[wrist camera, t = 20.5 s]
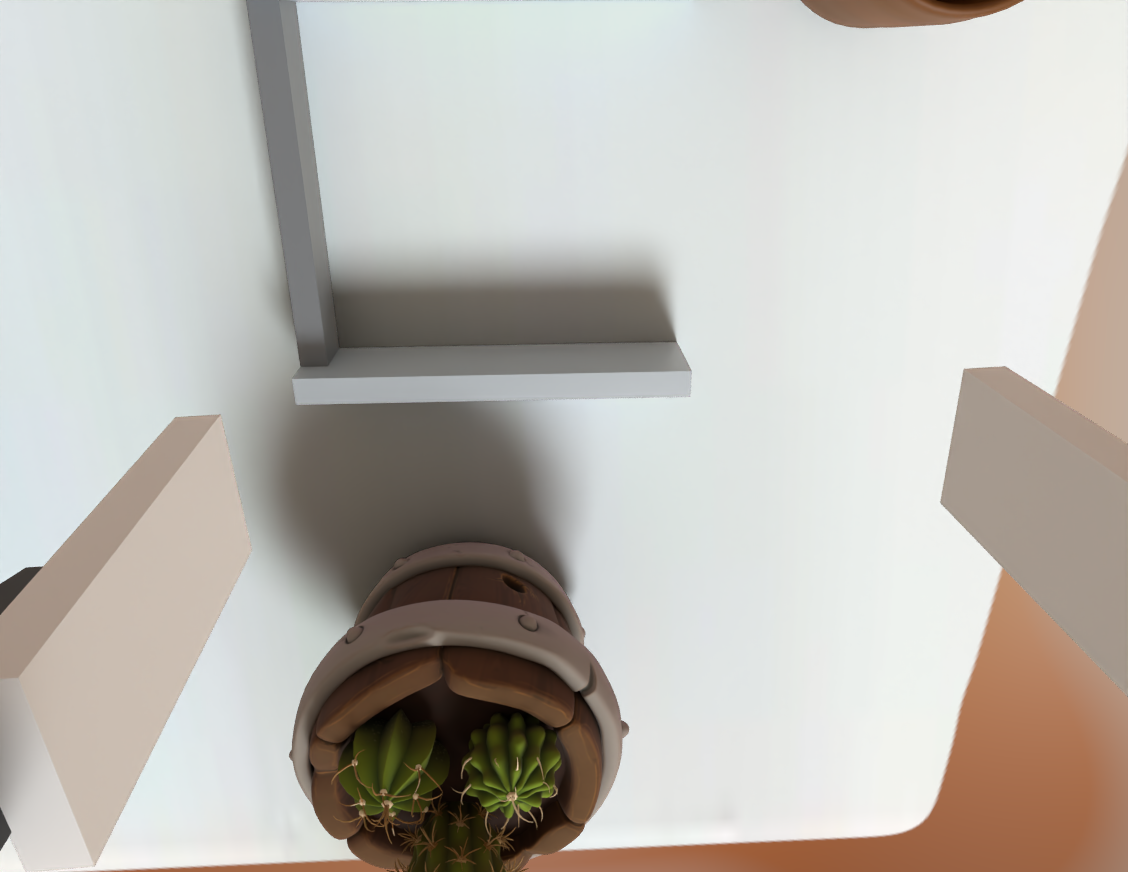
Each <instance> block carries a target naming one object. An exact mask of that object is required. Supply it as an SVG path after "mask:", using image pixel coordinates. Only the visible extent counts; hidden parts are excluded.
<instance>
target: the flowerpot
mask: <svg viewBox="0 0 1128 872" xmlns="http://www.w3.org/2000/svg"><path fill="white" fill-rule="evenodd" d="M584 637H585V630H584V629H583V628H582V626H581V623H580V620H579V618H578V616H577V613H576V611H575V609H574V607H573V606H572V604H571V602H570V600H569V598H568V596H567V595H566V593H565V591H564V590H563V588H562V587H561V586H560V584H559V583H558V582H557V581H556V579H555V578H554V577H553V576H552V575H551V574H550V573H549V572H548V571H547V570H546V569H545V568H543V567H542V566H541V565H540V564H538V563H537V562H536V561H534V560H533V559H531V558H530V557H528V556H526V555H524V554H522V552H520V551H518V550H515V551H514V550H512V549H509V548H506V547H503V546H499V545H494V544H488V543H481V542H465V543H451V544H445V545H439V546H435V547H431V548H428V549H424V550H422V551H419V552H417V553H415V554H413V555H411V556H409V557H407V558H406V559H405V558H400V559H398V560H397V561H396V562H395V564H394V567H392V568H391V569H390V570H389V571H388V572H387V573H386V574H385V575H384V576H383V578H382V579H381V580H380V581H379V582H378V584H377V585H376V586H375V588H374V589H373V590H372V592H371V593H370V594H369V596H368V597H367V599H366V600H365V602H364V604H363V606H362V607H361V609H360V612H359V614H358V616H357V619H356V622H355V625H354V627H352V628H350V629H349V630H348V631H347V633H346V634H345V635H344V636H343V637H342V638H341V639H340V640H339V641H338V642H337V643H336V644H335V645H334V646H333V647H332V648H331V650H330V651H329V652H328V653H327V655H326V656H325V657H324V658H323V660H322V661H321V662H320V664H319V665H318V667H317V668H316V670H315V671H314V673H313V675H312V676H311V678H310V680H309V682H308V684H307V686H306V688H305V690H304V693H303V695H302V698H301V700H300V704H299V708H298V711H297V715H296V720H295V725H294V731H293V739H292V750H291V751H290V754H289V757H290V759H291V760H292V761H293V766H294V770H295V773H296V777H297V779H298V782H299V784H300V786H301V788H302V790H303V792H304V793H305V795H306V796H307V798H308V799H309V801H310V802H311V803H312V805H313V807H314V810H315V813H316V815H317V817H318V819H319V821H320V823H321V824H322V826H323V827H324V828H325V830H326V831H327V832H328V833H329V834H330V835H331V836H333V837H334V838H336V839H339V840H342V839H346V838H347V844H348V847H349V849H350V850H351V852H352V853H353V854H354V855H355V856H357V857H358V858H360V859H361V860H363V861H365V862H367V863H369V864H371V865H374V866H376V867H380V868H384V869H396V871H397V872H399V870H398V869H402V871H403V872H518V871H519V872H522V871H525V870H527V869H524V870H522V871H520V870H521V869H522V868H523V867H524V866H525V865H526V863H527V862H528V861H529V859H532V858H534V857H537V856H540V855H548V854H552V853H555V852H557V851H559V850H561V849H562V848H564V847H565V846H567V845H568V844H569V843H571V842H572V841H573V840H575V839H576V838H577V837H578V836H579V835H580V834H581V832H582V831H583V829H584V827H585V824H586V823H587V822H588V821H589V820H590V819H591V818H592V817H593V816H594V814H595V813H596V812H597V811H598V809H599V808H600V807H601V805H602V804H603V802H604V800H605V799H606V797H607V795H608V793H609V791H610V789H611V787H612V785H613V783H614V780H615V778H616V775H617V772H618V769H619V765H620V760H621V754H622V738H624V737H625V736H626V735H627V734H628V732H629V726H628V725H627V723H625V722H624V721H622V720H621V716H620V710H619V706H618V702H617V699H616V696H615V694H614V691H613V689H612V687H611V685H610V682H609V680H608V679H607V677H606V675H605V673H604V671H603V669H602V668H601V666H600V664H599V663H598V661H597V660H596V658H595V657H594V656H593V654H592V653H591V652H590V651H589V650H588V649H587V648H586V647H585V646H584ZM404 870H405V871H404ZM387 871H389V870H387ZM389 872H394V871H389Z"/></svg>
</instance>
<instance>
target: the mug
mask: <svg viewBox="0 0 1128 872" xmlns="http://www.w3.org/2000/svg"><path fill="white" fill-rule="evenodd" d="M801 1H802V2H803V3H804V4H805V5H806V6H807V7H808V8H809V9H811V10H812V11H813V12H814V13H816V14H817V15H819V16H821V17H822V18H824V19H826V20H828V21H831V22H833V23H835V24H839V25H843V26H847V27H856V28H877V27H908V26H926V25H943V24H951V23H956V22H961V21H966V20H970V19H973V18H977V17H982V16H987V15H990V14H993V13H996V12H999V11H1002V10H1005V9H1008V8H1010V7H1012V6H1014V5H1016V4H1018V3H1020V2H1022V1H1023V0H801Z"/></svg>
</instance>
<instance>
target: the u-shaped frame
mask: <svg viewBox="0 0 1128 872" xmlns="http://www.w3.org/2000/svg"><path fill="white" fill-rule="evenodd" d="M324 1H521V0H246V2H247V9H248V16H249V23H250V29H251V36H252V43H253V50H254V56H255V63H256V70H257V77H258V83H259V90H260V97H261V103H262V110H263V117H264V124H265V130H266V137H267V144H268V151H269V157H270V164H271V171H272V178H273V184H274V191H275V198H276V204H277V211H278V218H279V225H280V231H281V238H282V245H283V252H284V258H285V265H286V272H287V279H288V285H289V292H290V299H291V305H292V312H293V319H294V326H295V332H296V339H297V346H298V353H299V359H300V366H301V367H300V368H299V370H298V371H297V373H296V374H295V375H294V377H293V378H292V383H293V389H294V396H295V402H296V405H314V404H362V403H410V402H458V401H506V400H554V399H602V398H650V397H690V391H691V375H692V371H691V369H690V367H689V365H688V363H687V361H686V359H685V357H684V355H683V353H682V351H681V349H680V347H679V345H678V343H677V342H634V343H580V344H527V345H473V346H419V347H366V348H339V341H338V333H337V325H336V317H335V309H334V301H333V293H332V285H331V277H330V270H329V262H328V254H327V246H326V238H325V230H324V222H323V214H322V206H321V198H320V190H319V182H318V175H317V167H316V159H315V151H314V143H313V135H312V127H311V119H310V111H309V103H308V95H307V88H306V80H305V72H304V64H303V56H302V48H301V40H300V32H299V24H298V16H297V8H296V2H324Z"/></svg>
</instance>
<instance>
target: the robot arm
mask: <svg viewBox="0 0 1128 872" xmlns="http://www.w3.org/2000/svg"><path fill="white" fill-rule="evenodd" d="M940 503H941V504H942V505H943V506H944V507H945V508H946V509H947V510H948V511H949V512H950V513H951V514H952V516H953V517H954V518H955V519H956V520H957V521H958V522H959V523H960V524H961V525H962V526H963V527H964V528H965V529H966V530H967V531H968V532H969V533H970V534H971V535H972V536H973V537H974V538H975V539H976V540H977V541H978V542H979V543H980V544H981V546H982V547H983V548H984V549H985V550H986V551H987V552H988V553H989V554H990V555H991V556H992V557H993V558H994V559H995V560H996V561H997V562H998V563H999V564H1000V565H1001V566H1002V567H1003V568H1004V569H1005V570H1006V571H1007V572H1008V573H1009V574H1010V576H1011V577H1013V579H1014V580H1015V581H1016V582H1017V583H1018V584H1019V585H1020V586H1021V587H1022V588H1023V589H1024V590H1025V591H1026V592H1027V593H1028V594H1029V595H1030V596H1031V597H1032V598H1033V599H1034V600H1035V601H1036V602H1037V603H1038V604H1039V605H1040V607H1041V608H1042V609H1043V610H1045V612H1046V613H1047V614H1048V615H1049V616H1050V617H1051V618H1052V619H1053V620H1054V621H1055V622H1056V623H1057V624H1058V625H1059V626H1060V627H1061V628H1062V629H1063V630H1064V631H1065V632H1066V633H1067V635H1069V637H1070V638H1071V639H1072V640H1073V641H1074V642H1075V643H1076V644H1077V645H1078V646H1079V647H1080V648H1081V649H1082V650H1083V651H1084V652H1085V653H1086V654H1087V655H1088V656H1089V657H1090V658H1091V659H1092V660H1093V661H1094V662H1095V663H1096V665H1097V666H1098V667H1099V668H1100V669H1102V671H1103V672H1104V673H1105V674H1106V675H1107V676H1108V677H1109V678H1110V679H1111V680H1112V681H1113V682H1114V683H1115V684H1116V685H1117V686H1118V687H1119V688H1120V689H1121V690H1122V691H1123V692H1124V693H1125V695H1126V696H1127V697H1128V444H1127V443H1126V442H1124V441H1123V440H1121V439H1120V438H1118V437H1117V436H1115V435H1113V434H1112V433H1110V432H1109V431H1107V430H1105V429H1104V428H1102V427H1101V426H1099V425H1097V424H1096V423H1094V422H1093V421H1091V420H1090V419H1088V418H1086V417H1085V416H1083V415H1082V414H1080V413H1078V412H1077V411H1075V410H1074V409H1072V408H1070V407H1069V406H1067V405H1066V404H1064V403H1062V402H1061V401H1059V400H1058V399H1056V398H1055V397H1053V396H1051V395H1050V394H1048V393H1047V392H1045V391H1044V390H1042V389H1040V388H1039V387H1037V386H1036V385H1034V384H1032V383H1031V382H1029V381H1028V380H1026V379H1024V378H1023V377H1021V376H1020V375H1018V374H1017V373H1015V372H1013V371H1012V370H1010V369H1009V368H1007V367H1005V366H1004V367H988V368H971V369H964V370H963V376H962V382H961V388H960V393H959V399H958V405H957V410H956V416H955V422H954V427H953V433H952V439H951V445H950V450H949V456H948V462H947V467H946V473H945V479H944V484H943V490H942V496H941V501H940ZM251 551H252V547H251V543H250V539H249V534H248V530H247V526H246V521H245V517H244V513H243V509H242V504H241V500H240V496H239V491H238V487H237V483H236V478H235V474H234V470H233V465H232V461H231V457H230V453H229V448H228V444H227V440H226V435H225V431H224V427H223V422H222V418H221V415H205V416H188V417H175V418H174V419H173V421H172V422H171V423H170V424H169V425H168V426H167V427H166V428H165V430H164V431H163V432H162V433H161V434H160V435H159V436H158V437H157V439H156V440H155V441H154V442H153V443H152V444H151V445H150V447H149V448H148V449H147V450H146V451H145V452H144V453H143V454H142V456H141V457H140V458H139V459H138V460H137V461H136V462H135V463H134V465H133V466H132V467H131V468H130V469H129V470H128V471H127V473H126V474H125V475H124V476H123V477H122V478H121V479H120V480H119V482H118V483H117V484H116V485H115V486H114V487H113V488H112V489H111V491H110V492H109V493H108V494H107V495H106V496H105V497H104V498H103V500H102V501H101V502H100V503H99V504H98V505H97V506H96V508H95V509H94V510H93V511H92V512H91V513H90V514H89V515H88V517H87V518H86V519H85V520H84V521H83V522H82V523H81V524H80V526H79V527H78V528H77V529H76V530H75V531H74V532H73V533H72V535H71V536H70V537H69V538H68V539H67V540H66V541H65V543H64V544H63V545H62V546H61V547H60V548H59V549H58V550H57V552H56V553H55V554H54V555H53V556H52V557H51V558H50V559H49V561H48V562H47V563H46V564H45V565H44V566H43V567H28V568H25V569H23V570H21V571H20V572H18V573H17V574H15V575H14V576H12V577H10V578H9V579H7V580H6V581H4V582H3V583H1V584H0V850H1V849H2V847H3V845H4V844H5V842H6V841H7V839H8V838H9V837H10V839H11V841H12V843H13V846H14V848H15V850H16V852H17V854H18V856H19V859H20V861H21V863H22V865H23V867H24V870H25V872H37V871H49V870H61V869H73V868H84V867H95V865H96V863H97V861H98V859H99V857H100V855H101V853H102V851H103V849H104V847H105V845H106V843H107V841H108V839H109V837H110V835H111V833H112V831H113V829H114V827H115V825H116V823H117V821H118V819H119V817H120V815H121V813H122V811H123V809H124V807H125V805H126V803H127V801H128V799H129V797H130V795H131V793H132V791H133V789H134V787H135V785H136V783H137V781H138V778H139V776H140V774H141V772H142V770H143V768H144V766H145V764H146V762H147V760H148V758H149V756H150V754H151V752H152V750H153V748H154V746H155V744H156V742H157V740H158V738H159V736H160V734H161V732H162V730H163V728H164V726H165V724H166V722H167V720H168V718H169V716H170V714H171V712H172V710H173V708H174V706H175V704H176V702H177V700H178V698H179V696H180V694H181V692H182V690H183V688H184V686H185V684H186V682H187V680H188V678H189V676H190V674H191V672H192V670H193V668H194V666H195V664H196V662H197V660H198V658H199V656H200V654H201V652H202V650H203V648H204V646H205V644H206V642H207V640H208V638H209V636H210V634H211V632H212V630H213V628H214V626H215V624H216V622H217V620H218V618H219V616H220V614H221V612H222V610H223V608H224V606H225V604H226V602H227V600H228V598H229V596H230V594H231V592H232V590H233V588H234V586H235V584H236V582H237V580H238V578H239V576H240V574H241V572H242V570H243V568H244V566H245V564H246V562H247V559H248V557H249V555H250V553H251Z"/></svg>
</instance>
